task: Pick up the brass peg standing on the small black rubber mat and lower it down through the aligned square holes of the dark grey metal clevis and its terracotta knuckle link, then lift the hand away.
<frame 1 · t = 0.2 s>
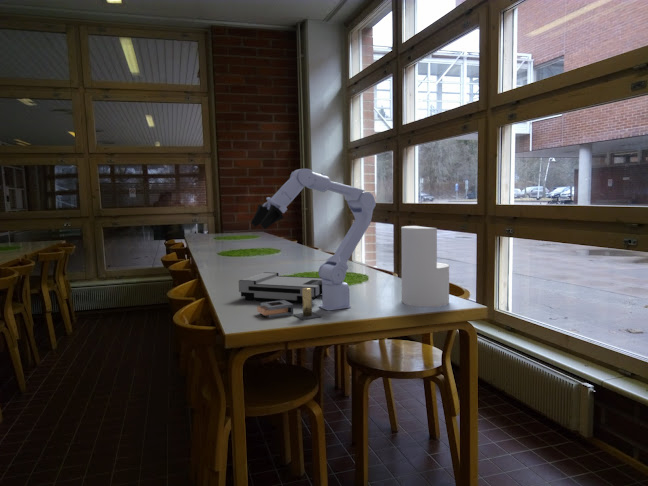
hand: (257, 225, 149), 31 cm above the table, tool tilted 45°, fingers open, 7 cm apart
clevis: (275, 314, 158), on the table
brass peg: (307, 315, 154), resting on rubber mat
rubber mat: (307, 316, 154), on the table
game console: (287, 298, 184), on the table
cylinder: (425, 302, 172), on the table
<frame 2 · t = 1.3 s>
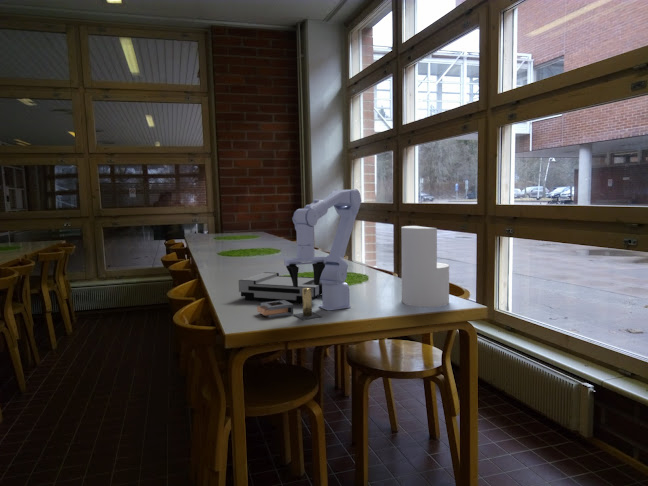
hand: (306, 285, 152), 10 cm above the table, tool pointing down, fingers open, 7 cm apart
nothing on the table moved.
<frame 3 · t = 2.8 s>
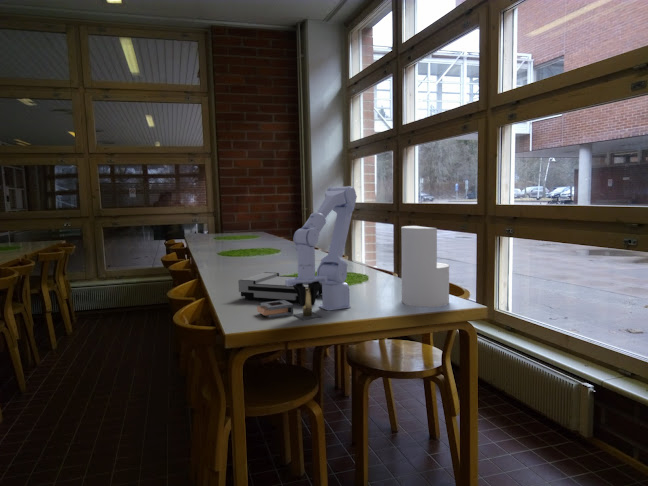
hand: (307, 305, 153), 4 cm above the table, tool pointing down, fingers closed on brass peg, 3 cm apart
brass peg: (307, 315, 154), resting on rubber mat, touching gripper
everything else where it was.
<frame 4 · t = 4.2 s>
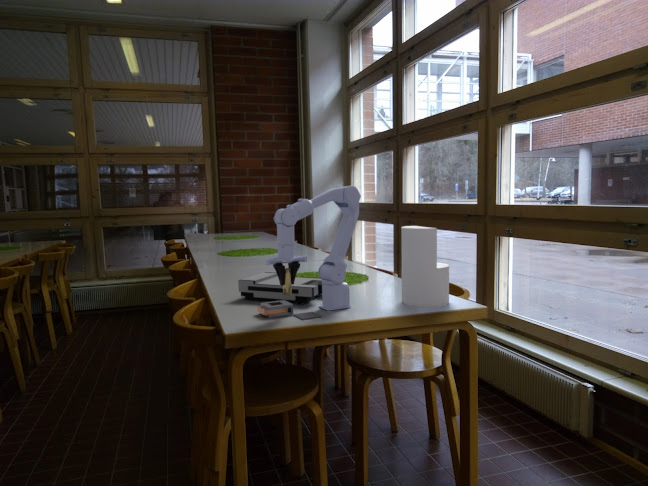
hand: (287, 284, 155), 10 cm above the table, tool pointing down, fingers closed on brass peg, 3 cm apart
brass peg: (287, 294, 155), point 7 cm above the table, touching gripper
everything else where it was.
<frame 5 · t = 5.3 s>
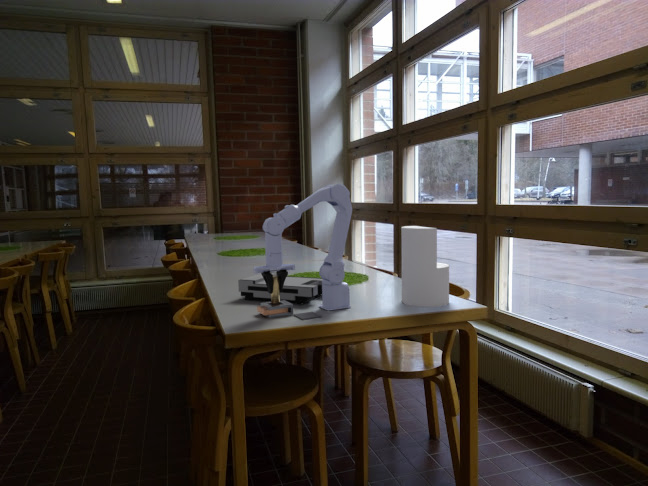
hand: (275, 292, 157), 8 cm above the table, tool pointing down, fingers closed on brass peg, 3 cm apart
brass peg: (275, 302, 157), point 4 cm above the table, touching gripper
everything else where it was.
when the fingers open (5 cm above the table, at t = 6.1 s): brass peg drops 2 cm, resting in clevis.
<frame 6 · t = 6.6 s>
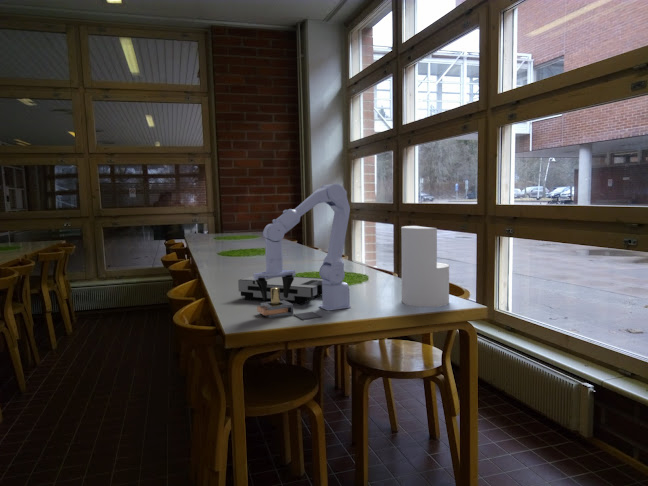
hand: (275, 298, 157), 5 cm above the table, tool pointing down, fingers open, 7 cm apart
brass peg: (275, 314, 158), resting in clevis
everything else where it was.
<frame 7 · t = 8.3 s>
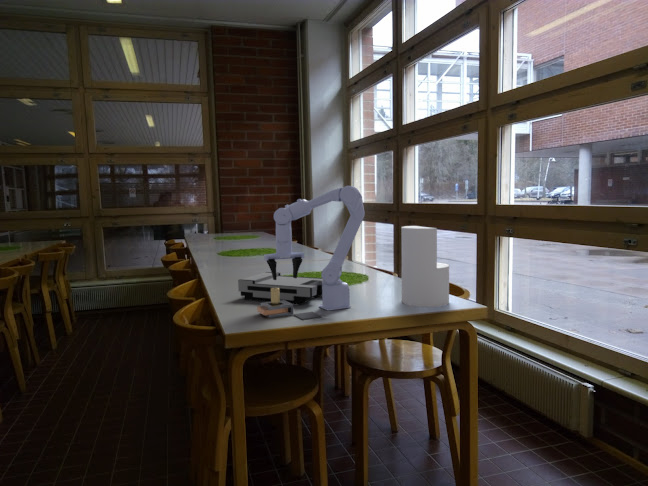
hand: (285, 278, 167), 10 cm above the table, tool pointing down, fingers open, 7 cm apart
nothing on the table moved.
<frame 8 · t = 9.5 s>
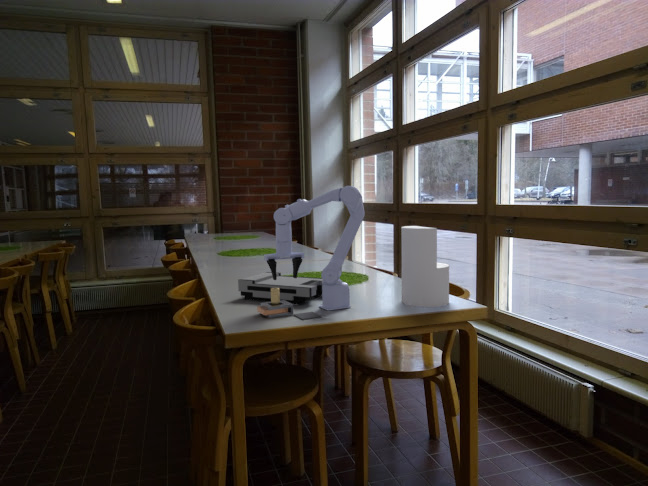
hand: (285, 278, 167), 10 cm above the table, tool pointing down, fingers open, 7 cm apart
nothing on the table moved.
at the end: brass peg 0.1 cm off-centre on the clevis, point 0.0 cm above the clevis's base; brass peg tilted 0°; the gripper is holding nothing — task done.
